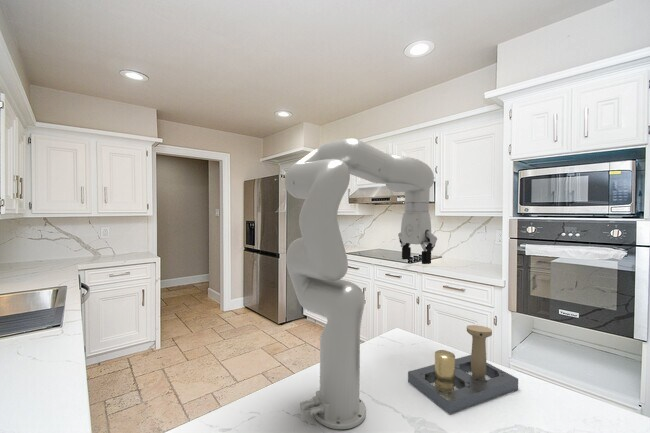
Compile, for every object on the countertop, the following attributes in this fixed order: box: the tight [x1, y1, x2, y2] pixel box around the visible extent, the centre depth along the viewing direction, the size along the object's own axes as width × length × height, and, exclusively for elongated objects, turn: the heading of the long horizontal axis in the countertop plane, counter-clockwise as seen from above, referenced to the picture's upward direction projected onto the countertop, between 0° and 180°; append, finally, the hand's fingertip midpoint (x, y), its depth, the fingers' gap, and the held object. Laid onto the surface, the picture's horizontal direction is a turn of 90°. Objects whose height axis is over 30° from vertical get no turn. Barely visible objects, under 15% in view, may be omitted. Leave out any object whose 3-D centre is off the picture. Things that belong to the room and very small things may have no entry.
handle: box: [466, 324, 493, 380], centre depth 86 cm, size 5×6×15 cm
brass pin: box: [434, 349, 456, 392], centre depth 81 cm, size 5×5×10 cm
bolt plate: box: [407, 354, 519, 415], centre depth 84 cm, size 25×15×3 cm, turn 114°
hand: (415, 261), depth 98 cm, fingers open, 9 cm apart
